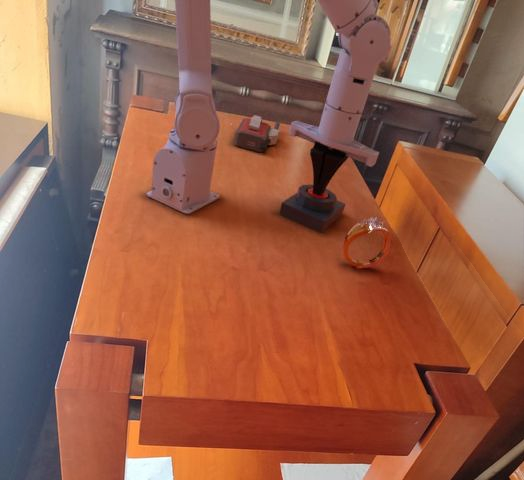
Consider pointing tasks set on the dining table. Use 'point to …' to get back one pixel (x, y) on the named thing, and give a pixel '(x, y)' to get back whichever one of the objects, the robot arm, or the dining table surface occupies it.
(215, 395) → the dining table surface
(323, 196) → the light button
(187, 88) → the robot arm
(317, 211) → the switch box
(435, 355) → the dining table surface
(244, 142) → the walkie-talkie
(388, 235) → the ring
